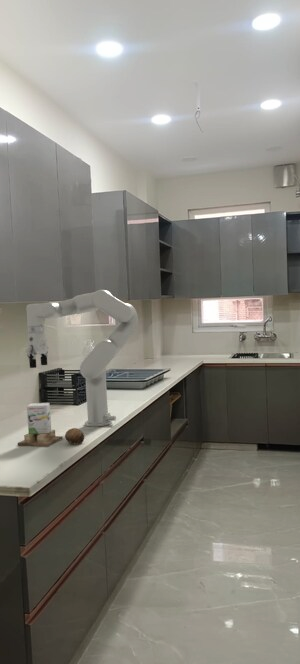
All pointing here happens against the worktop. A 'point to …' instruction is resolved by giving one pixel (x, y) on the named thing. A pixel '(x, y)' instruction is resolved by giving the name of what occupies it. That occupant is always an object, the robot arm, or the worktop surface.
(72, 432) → the mushroom
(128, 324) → the robot arm
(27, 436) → the stand
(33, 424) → the ink box
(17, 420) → the worktop surface
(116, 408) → the worktop surface
